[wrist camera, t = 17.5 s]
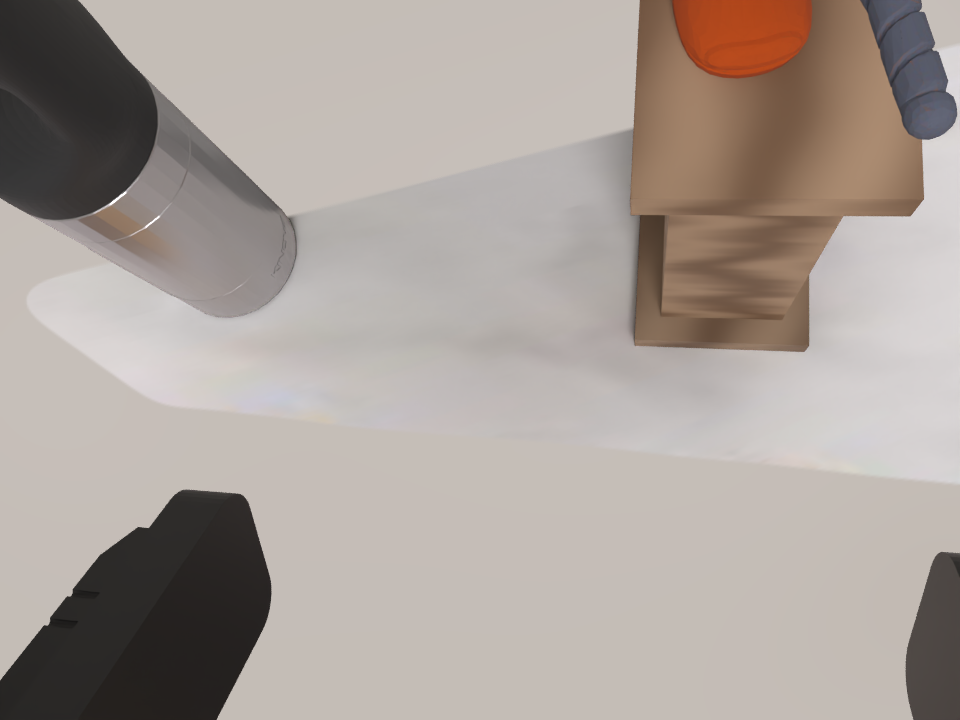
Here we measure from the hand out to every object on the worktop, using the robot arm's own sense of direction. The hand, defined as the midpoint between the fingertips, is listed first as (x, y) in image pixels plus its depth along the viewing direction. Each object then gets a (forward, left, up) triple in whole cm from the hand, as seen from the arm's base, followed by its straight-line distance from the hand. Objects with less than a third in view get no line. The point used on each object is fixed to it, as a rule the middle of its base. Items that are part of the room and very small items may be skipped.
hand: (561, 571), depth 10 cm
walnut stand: (+5, +19, -41) cm, 45 cm away
